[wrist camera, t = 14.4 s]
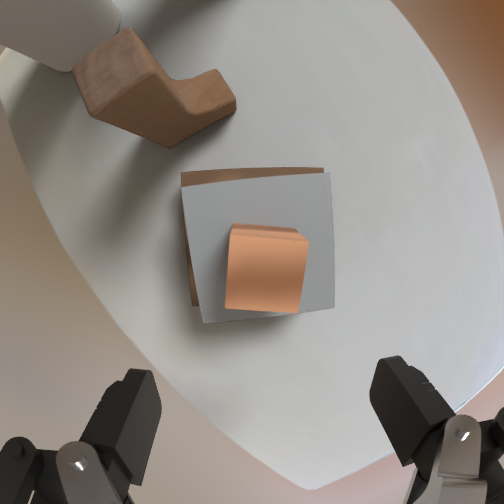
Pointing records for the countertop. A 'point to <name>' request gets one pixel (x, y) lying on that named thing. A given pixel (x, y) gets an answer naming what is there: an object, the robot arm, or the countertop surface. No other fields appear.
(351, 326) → the countertop surface
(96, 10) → the cylinder vase
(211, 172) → the tower base block
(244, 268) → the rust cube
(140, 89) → the wooden block
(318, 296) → the tower top block
